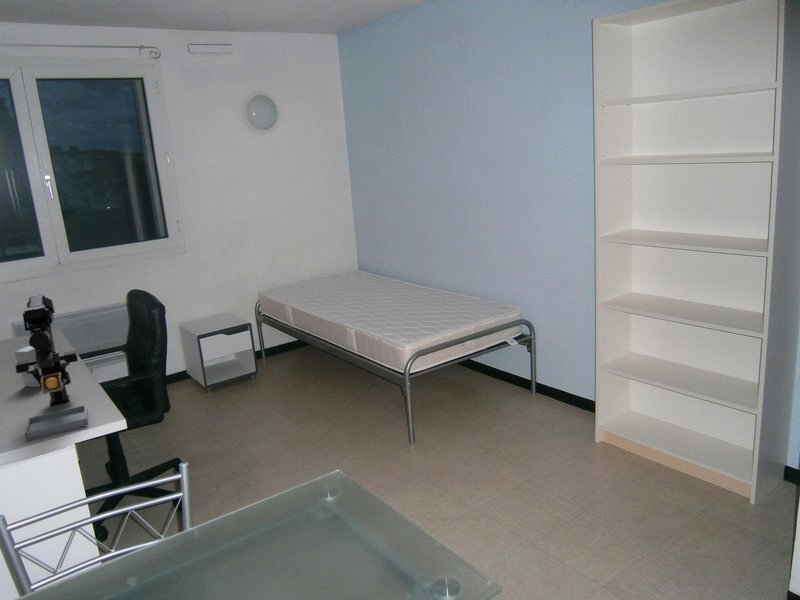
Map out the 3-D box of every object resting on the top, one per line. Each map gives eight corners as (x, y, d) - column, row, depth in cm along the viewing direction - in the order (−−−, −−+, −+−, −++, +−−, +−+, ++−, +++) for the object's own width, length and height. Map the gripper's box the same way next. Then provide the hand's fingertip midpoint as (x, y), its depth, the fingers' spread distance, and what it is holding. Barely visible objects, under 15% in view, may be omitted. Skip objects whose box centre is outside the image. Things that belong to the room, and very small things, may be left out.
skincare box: (51, 382, 255) (43, 345, 251) (35, 388, 248) (26, 351, 245) (38, 380, 258) (29, 344, 255) (22, 387, 252) (13, 350, 248)
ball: (45, 381, 216) (43, 377, 213) (58, 378, 218) (56, 374, 215) (47, 391, 215) (45, 388, 212) (60, 388, 217) (58, 385, 213)
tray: (29, 424, 211) (27, 418, 210) (87, 411, 218) (86, 404, 218) (26, 440, 197) (24, 433, 197) (88, 425, 205) (86, 418, 205)
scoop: (44, 388, 218) (41, 376, 217) (63, 384, 221) (60, 372, 220) (43, 394, 212) (40, 381, 211) (63, 389, 215) (60, 377, 214)
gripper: (9, 353, 202) (20, 398, 206) (72, 341, 210) (82, 384, 214) (12, 346, 212) (23, 388, 215) (72, 334, 220) (81, 375, 223)
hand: (52, 384), depth 217 cm, fingers closed on scoop, 6 cm apart
